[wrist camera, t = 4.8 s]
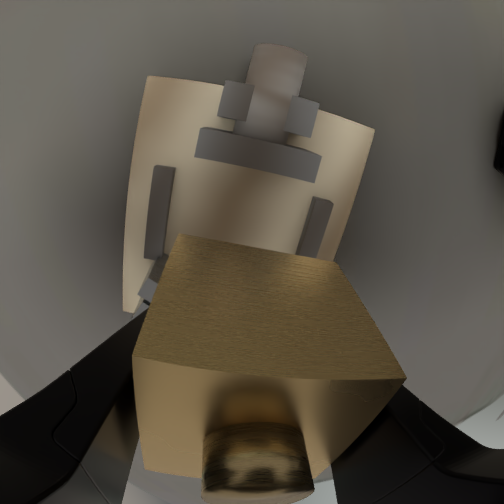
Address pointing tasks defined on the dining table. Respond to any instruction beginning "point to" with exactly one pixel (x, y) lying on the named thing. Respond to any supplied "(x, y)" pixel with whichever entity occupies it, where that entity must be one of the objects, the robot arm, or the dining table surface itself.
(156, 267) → the shaft
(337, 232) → the cream mounting plate
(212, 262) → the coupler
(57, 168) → the dining table surface
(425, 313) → the dining table surface
